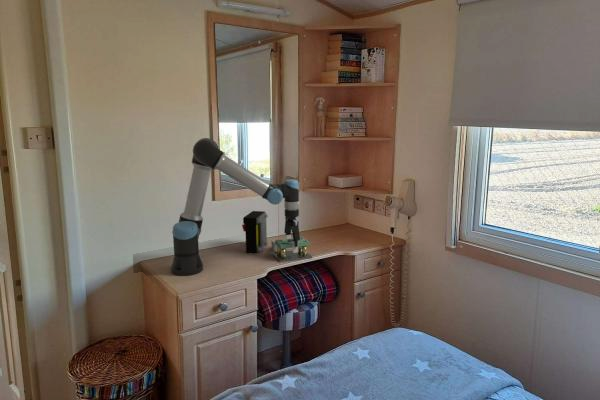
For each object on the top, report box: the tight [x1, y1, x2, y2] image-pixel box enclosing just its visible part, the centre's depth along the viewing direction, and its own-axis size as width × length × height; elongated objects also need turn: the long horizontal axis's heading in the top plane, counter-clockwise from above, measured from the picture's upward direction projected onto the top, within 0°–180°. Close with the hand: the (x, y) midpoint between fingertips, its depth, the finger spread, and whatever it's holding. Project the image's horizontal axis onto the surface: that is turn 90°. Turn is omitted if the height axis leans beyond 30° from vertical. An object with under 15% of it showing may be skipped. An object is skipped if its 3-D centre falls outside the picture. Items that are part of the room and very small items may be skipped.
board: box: [274, 236, 311, 249], centre depth 232 cm, size 16×10×3 cm, turn 111°
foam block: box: [271, 239, 293, 252], centre depth 247 cm, size 12×5×5 cm, turn 111°
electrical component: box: [241, 210, 269, 255], centre depth 246 cm, size 18×10×20 cm, turn 168°
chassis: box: [272, 246, 313, 263], centre depth 233 cm, size 18×13×8 cm
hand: (292, 249), depth 233 cm, fingers closed on board, 10 cm apart
